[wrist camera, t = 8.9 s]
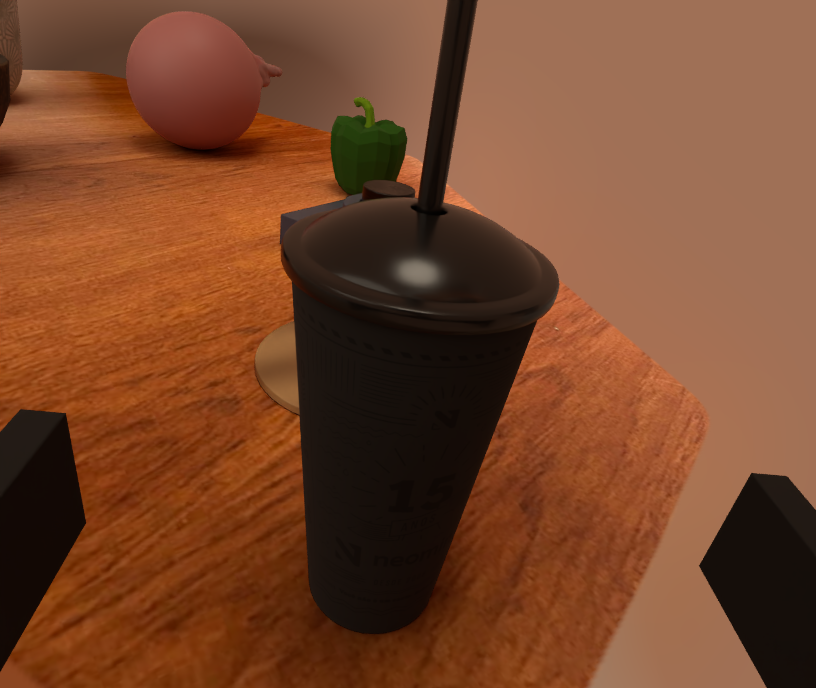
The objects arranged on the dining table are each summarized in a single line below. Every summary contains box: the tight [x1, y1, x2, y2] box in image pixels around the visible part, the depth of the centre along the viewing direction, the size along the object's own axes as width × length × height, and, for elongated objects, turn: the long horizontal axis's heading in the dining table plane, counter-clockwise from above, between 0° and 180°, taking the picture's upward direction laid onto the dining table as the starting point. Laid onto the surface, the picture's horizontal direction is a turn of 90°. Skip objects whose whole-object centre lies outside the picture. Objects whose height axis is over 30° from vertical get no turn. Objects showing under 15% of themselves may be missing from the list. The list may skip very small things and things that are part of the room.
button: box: [362, 180, 415, 201], centre depth 50 cm, size 4×4×2 cm
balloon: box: [126, 11, 282, 150], centre depth 74 cm, size 15×20×15 cm
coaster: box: [255, 321, 300, 415], centre depth 36 cm, size 12×12×1 cm
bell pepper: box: [331, 97, 407, 195], centre depth 66 cm, size 8×8×10 cm
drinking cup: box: [281, 0, 559, 634], centre depth 18 cm, size 8×8×20 cm
